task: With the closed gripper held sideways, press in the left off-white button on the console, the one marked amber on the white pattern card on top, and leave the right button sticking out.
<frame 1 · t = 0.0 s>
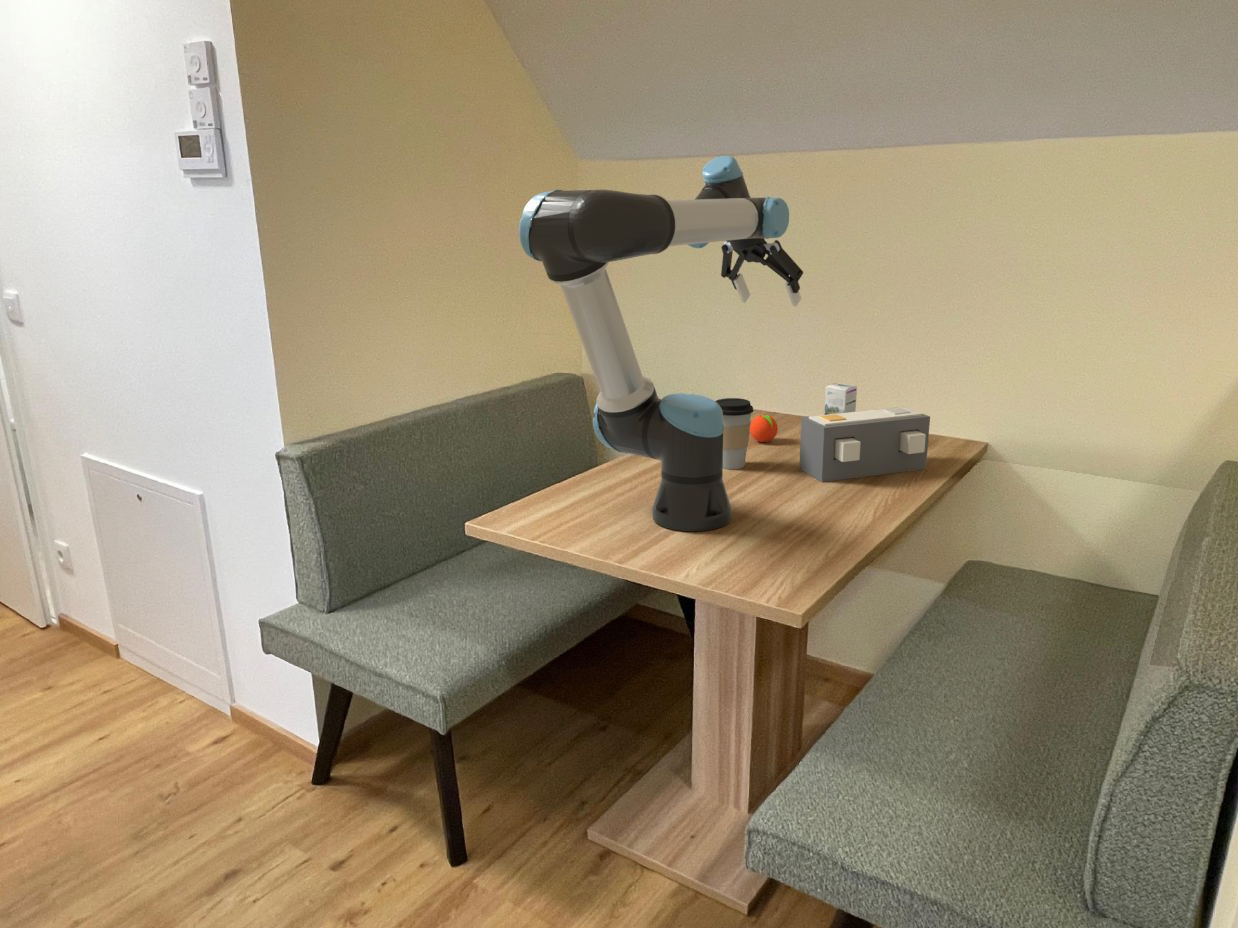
hand: (771, 300, 202), 36 cm above the table, tool tilted 35°, fingers open, 13 cm apart
syrup box: (838, 443, 218), on the table
left button: (844, 448, 188), point 7 cm above the table, slide at 0.0 cm
clementine: (764, 443, 220), on the table
right button: (909, 441, 193), point 7 cm above the table, slide at 0.0 cm
console: (862, 468, 197), on the table
coffee cup: (731, 466, 202), on the table
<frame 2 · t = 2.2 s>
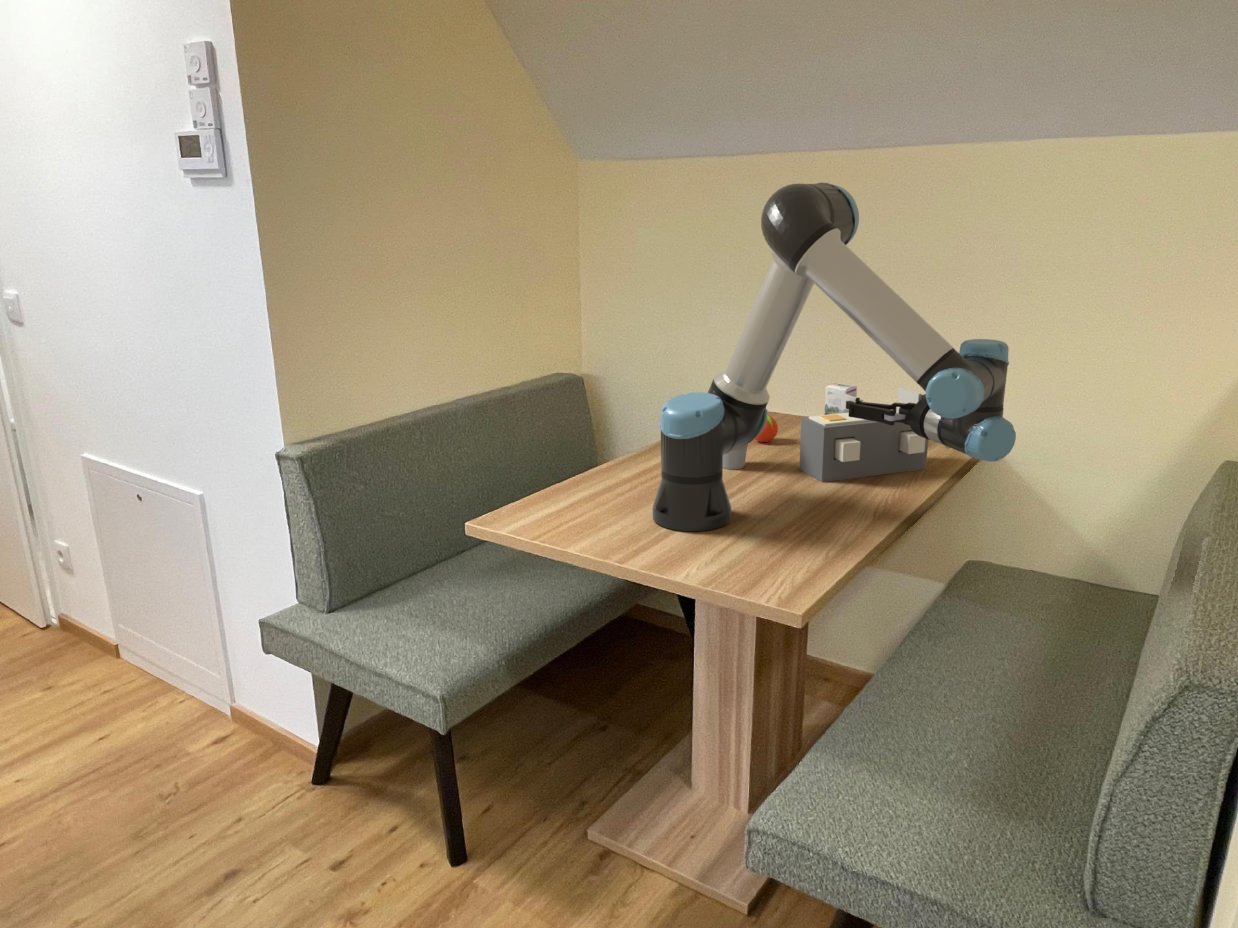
hand: (871, 397, 176), 20 cm above the table, tool horizontal, fingers open, 12 cm apart
nothing on the table moved.
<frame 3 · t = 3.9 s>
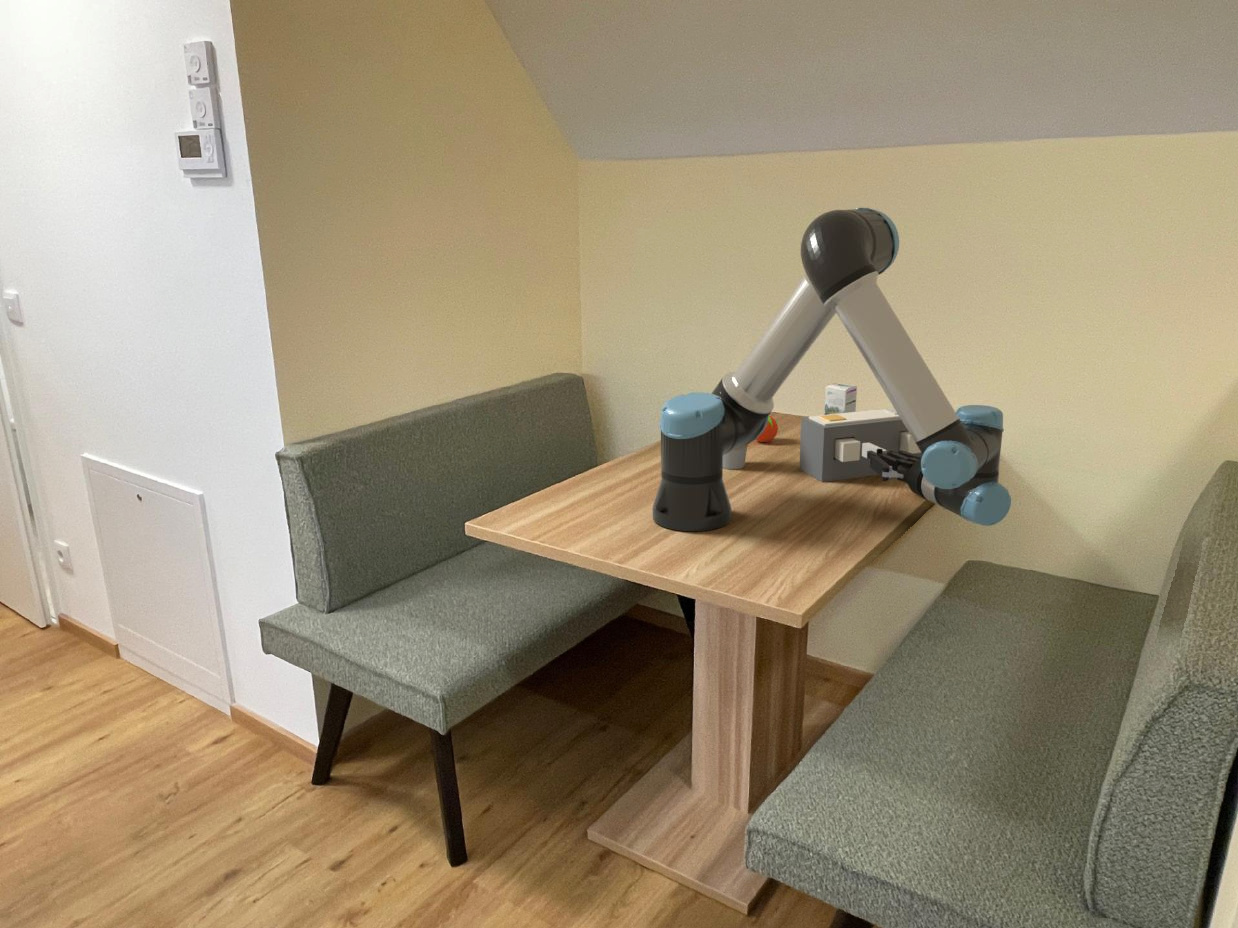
hand: (865, 449, 181), 9 cm above the table, tool horizontal, fingers closed
nothing on the table moved.
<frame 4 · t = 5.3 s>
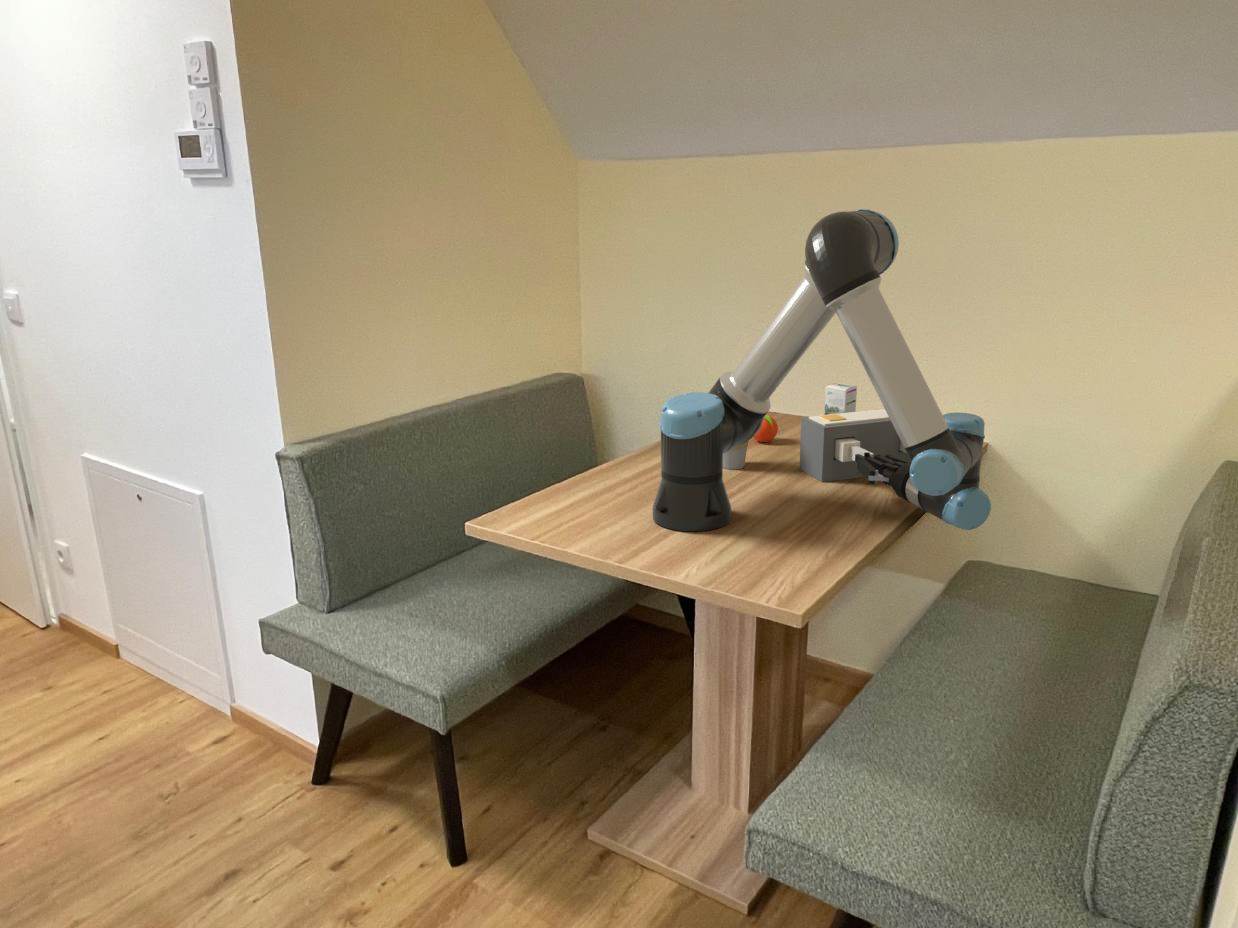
hand: (853, 452, 186), 7 cm above the table, tool horizontal, fingers closed
left button: (844, 448, 188), point 7 cm above the table, slide at 0.0 cm, touching gripper
everything else where it was.
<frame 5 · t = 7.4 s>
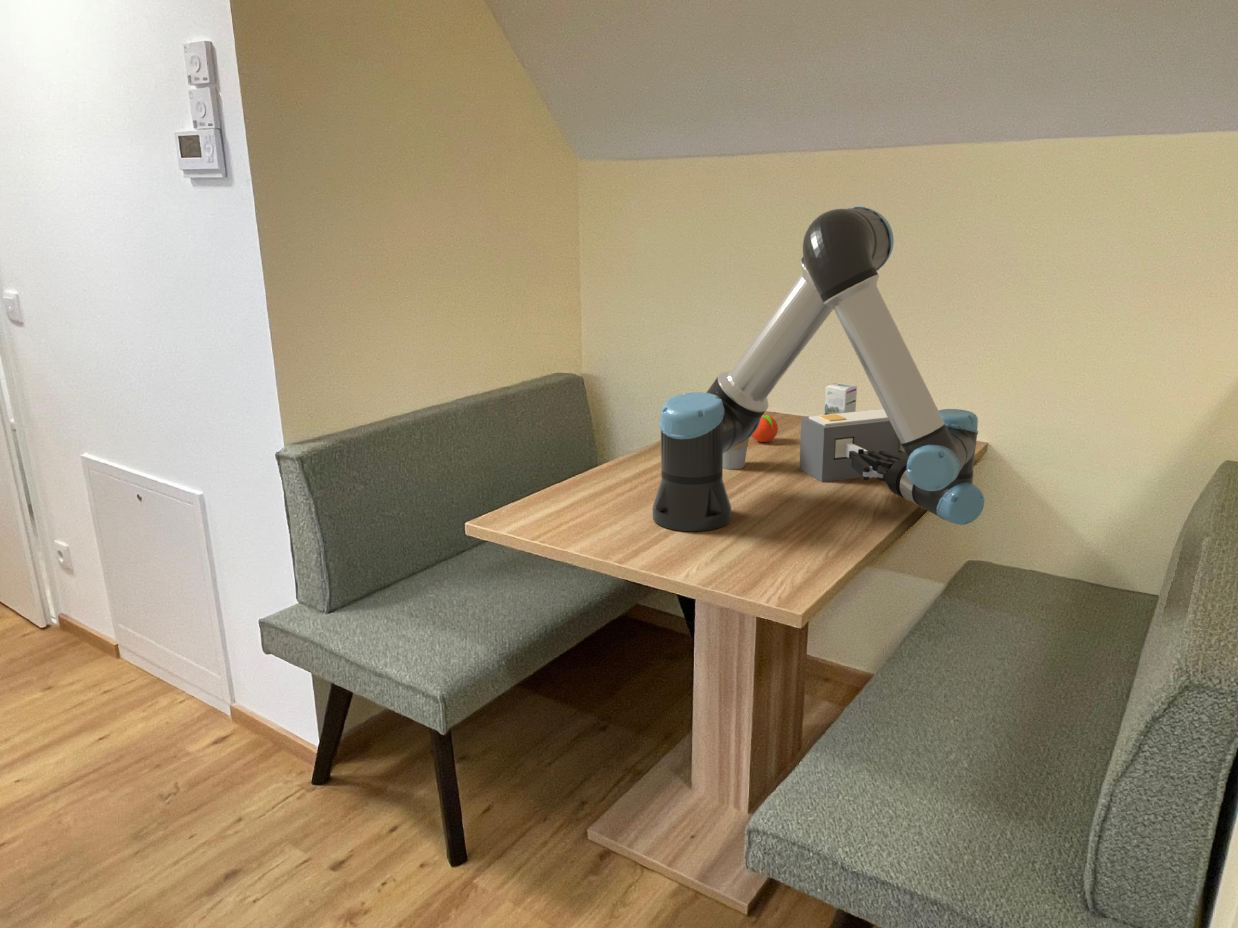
hand: (847, 449, 187), 7 cm above the table, tool horizontal, fingers closed
left button: (837, 444, 191), point 7 cm above the table, slide at 3.1 cm
everything else where it was.
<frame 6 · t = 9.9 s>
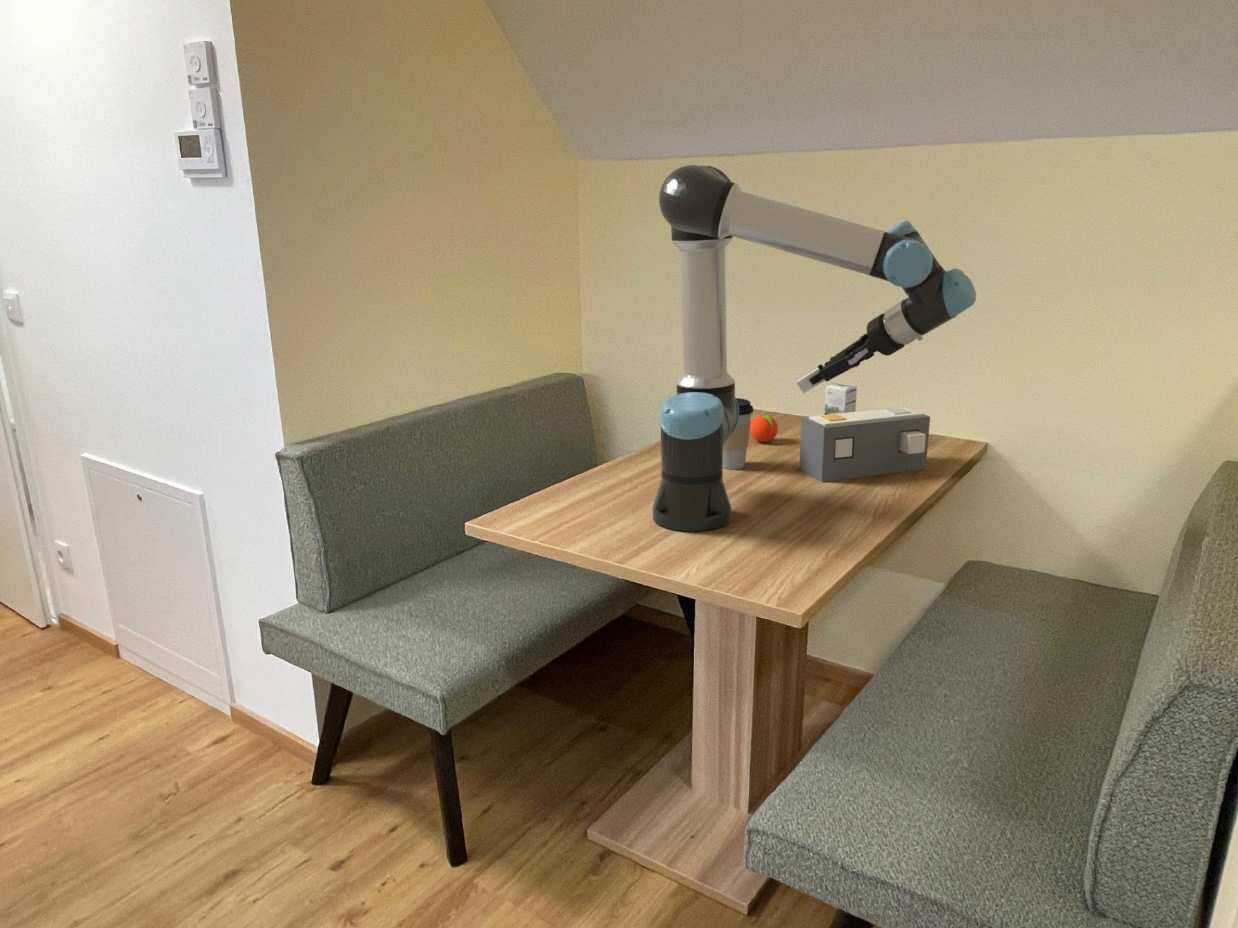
hand: (801, 386, 182), 21 cm above the table, tool tilted 55°, fingers closed
nothing on the table moved.
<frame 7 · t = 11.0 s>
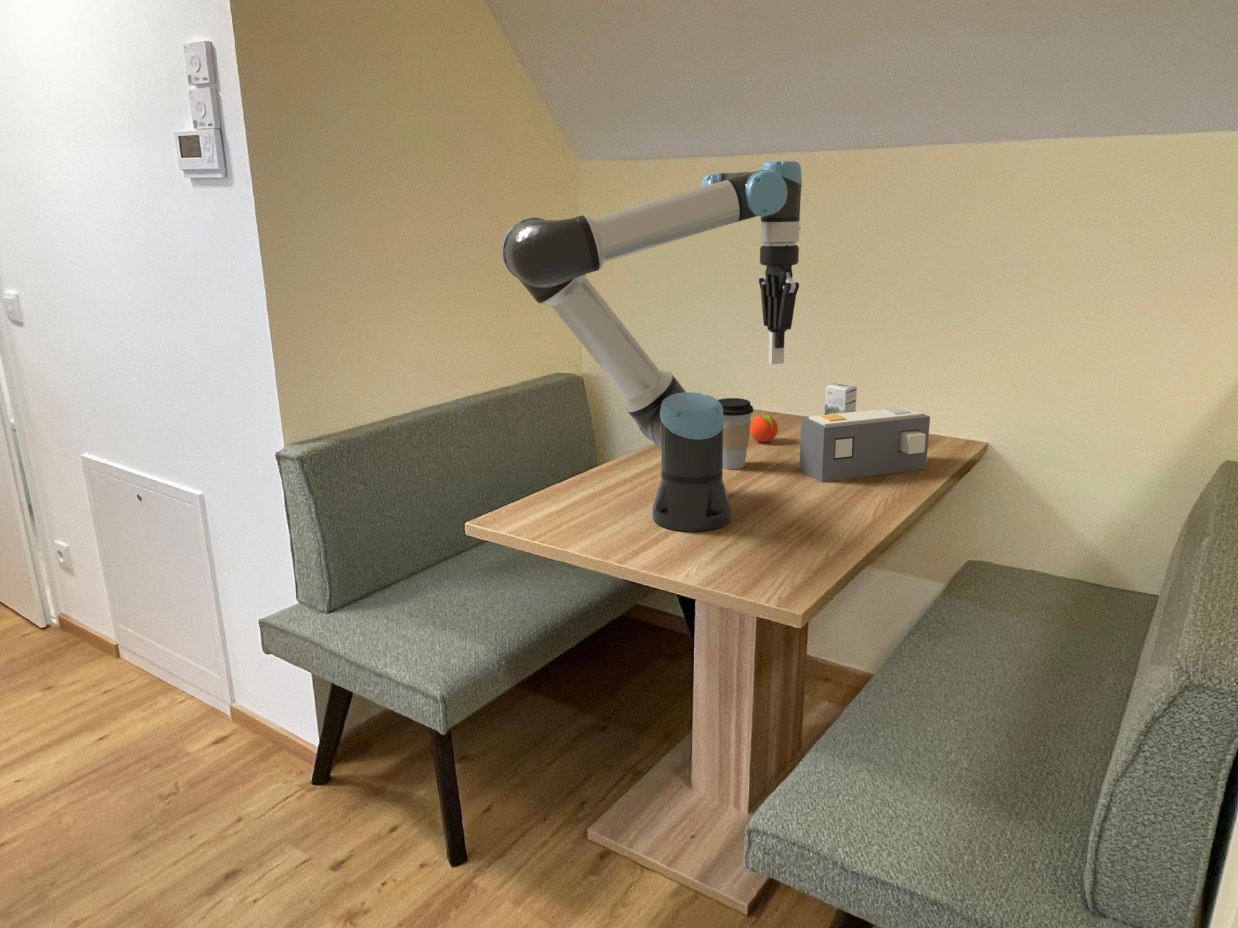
hand: (775, 363, 180), 26 cm above the table, tool pointing down, fingers closed
nothing on the table moved.
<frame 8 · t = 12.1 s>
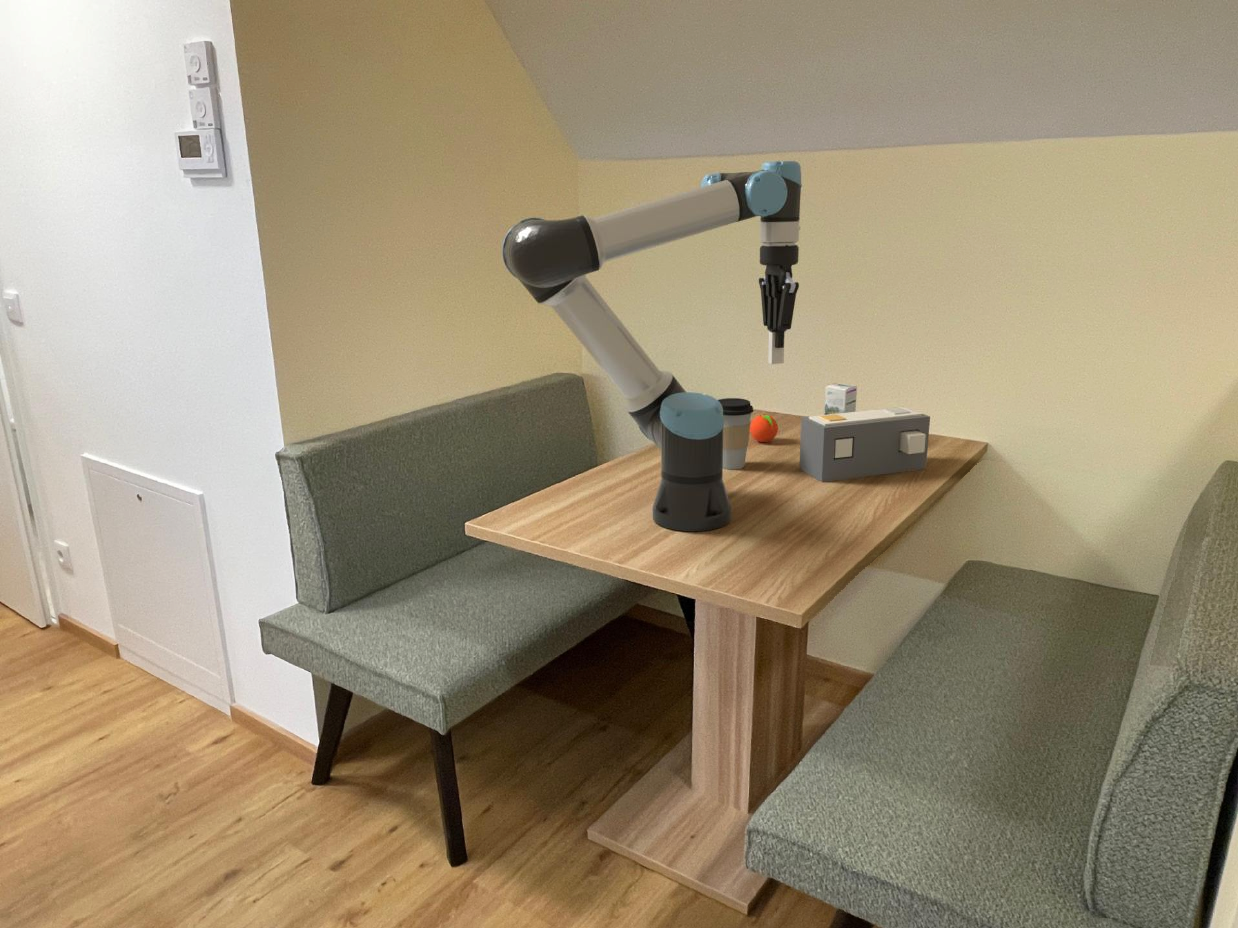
hand: (775, 363, 180), 26 cm above the table, tool pointing down, fingers closed
nothing on the table moved.
at the end: left button slide at 3.1 cm; right button slide at 0.0 cm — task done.
